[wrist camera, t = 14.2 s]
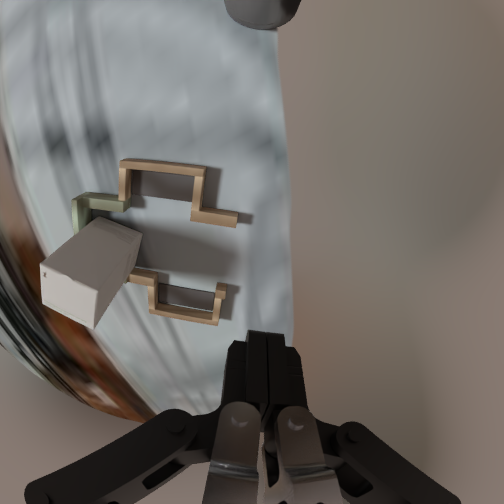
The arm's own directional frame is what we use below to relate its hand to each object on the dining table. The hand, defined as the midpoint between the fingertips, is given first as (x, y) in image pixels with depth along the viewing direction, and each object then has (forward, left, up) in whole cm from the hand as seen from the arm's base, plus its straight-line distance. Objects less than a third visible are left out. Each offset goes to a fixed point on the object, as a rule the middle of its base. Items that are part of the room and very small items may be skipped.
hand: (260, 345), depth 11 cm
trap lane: (+10, -13, -27) cm, 32 cm away
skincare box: (+11, -20, -27) cm, 35 cm away
